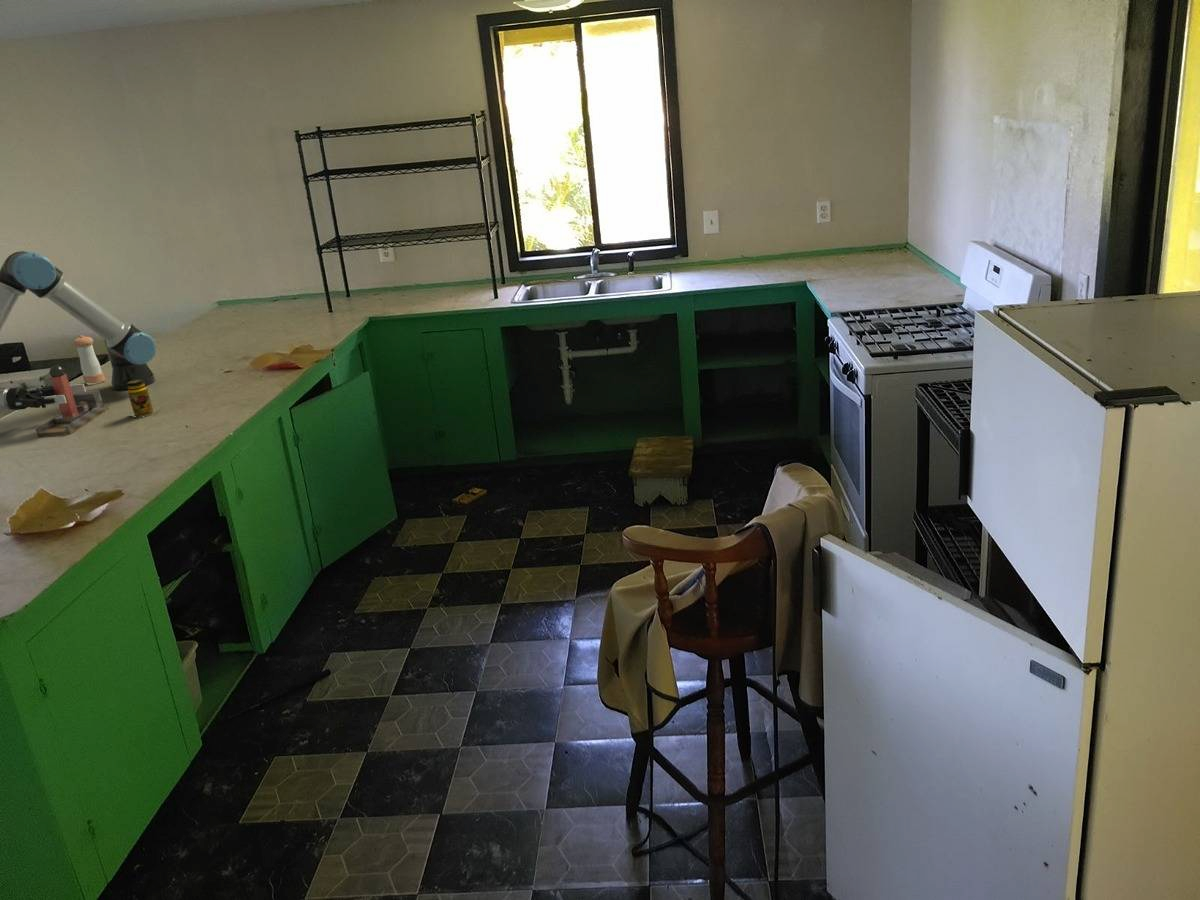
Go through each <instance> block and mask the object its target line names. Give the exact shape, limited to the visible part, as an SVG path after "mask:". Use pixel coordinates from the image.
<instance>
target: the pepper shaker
mask: <svg viewBox="0 0 1200 900" xmlns="http://www.w3.org/2000/svg"><path fill="white" fill-rule="evenodd" d="M72 343H73V347H75V348H76V349H77V353H78V357H79V362H80V364H79V365H80V369H81V372H82V374H83V375H82V379H83V381H84V384H85V383H97V382H101V381H104V380H105V381H106V378H105V374H104V371H102V368H101V364H100V361H99V359H98V357H97V356H96V354H95V350H94V347H93V344H94V339H93V338H92V337H90V336H84V335H83V334H81V335H79V336H78V337H76V339H74V340H73V342H72Z"/></svg>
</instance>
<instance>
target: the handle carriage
mask: <svg viewBox="0 0 1200 900" xmlns="http://www.w3.org/2000/svg"><path fill="white" fill-rule="evenodd" d="M49 375H50V381H51V385H52V386H53V388H54V391H55V394H56V395H55V396H58V395H65V398H66V401H67V403H64V404H58V406H59V410H60V414H61V413H62V415H61V416H59V417H57V418H56V419H55V421H56V423H67V422H73V421H75V420H76V419H78V418H79V417H81V416H83V415H84V414H86V413H87V412H89V409H88V406H87V404H83V405H76V404H75V401H74V398H73V393H72V391H71V388H70V385H71V384H70V382H69V379H68V375H67V373H65V368H63V367H62V366H60V365H53V366H51V367H50V368H49Z"/></svg>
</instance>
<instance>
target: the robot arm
mask: <svg viewBox="0 0 1200 900" xmlns="http://www.w3.org/2000/svg"><path fill="white" fill-rule="evenodd" d="M27 290H28V291H29V292H31V293H32V294H33V295H35V296H36V297H38V298H39V299H48V300H50V301H51V302H52V303H54V304H55V305H56V306H58V307H59V308H60V309H62V310H64V311H65V312H66V313H68V314H69V315H71V316H72V317H73V318H74V319H76V320H77V321H78V322H80V323H81V324H82V325H85V326H86V328H88V329H89V330H91V331H92V332H94V333H95V334H97V335H98V336H99V337H100V338H102V339H103V340H104V344H105V348H106V351H107V354H108V358H109V361H110V364H111V369H112V372H111V386H112V389H113V390H115V389H117V391H125V390H126V389H127V390H129V389H128V385H127V383H128V382H130V381H132V380H137V379H142V380H143V381H144V384H145V387H146V386H148V385H150V384H151V385H152V383H154V382H156V378H155V375H154V373H153V371H152V370H151V368H150V367H149V366H148V363H149V362H151V361H152V360H153V359H154V358H155V356H156V353H157V343H156V341H155V339H154V338H153V337H152V336H151V335H150V334H147V333H145V332H143V331H142V330H140V329H139V328H137V327H136V324H135V323H131V322H130V321H129V322H128V321H124V322H123V321H122V320H120V319H118V318H117V317H116V316H114V315H113V314H112V313H110V312H109V311H108V310H107V309H105V308H103V307H102V306H101V305H100V304H98V303H97V302H96V301H94V300H93V299H91V298H90V296H87V295H86V294H85V293H83V292H82V291H81V290H79V289H78V288H77V287H76V286H75V285H73V284H72V283H70V282H69V281H68V280H66V279H65V274H64V272H63V271H62V270H60V269H59V268H58V267H57V266H55V265H54V263H53V262H52V261H51V260H50V259H49V258H48V257H46V256H45V255H42V254H41V253H38V252H30V251H23V250H22V251H21V250H20V251H16V252H13V253H11V254H10V255H8V256H7V257H6V259H5V260H4V262H3V263H2V266H1V268H0V331H2V329H3V327H4V325H5V323H6V321H7V320H8V317H9V316H10V314H11V312H12V310H13V308H14V307H15V305H16V303H17V301H18V299H19V298H20V297H21V296H25V293H26V292H27ZM69 385H70V388H71V391H72V394H75V393H79V392H86V391H87V390H86V385H85V383H77V384H76V383H75V384H69ZM64 403H67V401H66V398H65V395H58V396H56V394H55V391H54V388H53V385H52V386H46V387H38V388H35V389H32V390H31V389H30V390H29V391H28V390H27V389H26V388H25V387H20V386H19V387H8V388H7V387H6V388H5V387H4V388H0V412H4V411H5V412H6V413H9V412H10V411H22V410H26V409H28V408H32V409H33V408H34V409H35V408H36V409H40V408H42V409H46V408H47V406H53V405H59V404H64Z"/></svg>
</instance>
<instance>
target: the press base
mask: <svg viewBox="0 0 1200 900" xmlns="http://www.w3.org/2000/svg"><path fill="white" fill-rule="evenodd" d="M72 395H73V398H74V401H75V404H76V405H83V404H87V406H88V409H89V412H87V413H86V414H84V415H83V416H81V417H79V418H78V419H76V420H75V421H73V422H67V423H56V421H55V419H56V418H57V417H59V416H61V415H62V413H61V412H60V414H58V415H57V416H55V417H53V418H51V419H50V420H49V421H46V422H45V423H44V424H42V425H40V426H38V427H37V428H35V434H36V435H37V438H43V437H44V438H45V436H47V437H57V436H56V435H58V436H64V435H63V434H69V435H72V434H73V433H75V432H76V431H75V430H77V429H78V430H80V429H81V428H83V427H84V426H85V424H86V423H87V424H89V423H90V422H92V421H93V420H95V419H96V418H98V417H99V416H101V415H102V414H104V413H105V412H107V411H108V410H110V409H109V406H108V405H105V406H104V403H103V399H102V396H101V395H102V394H101V392H100V390H98V389H97V390H86V392H79V393H72ZM106 410H107V411H106ZM103 412H104V413H103ZM101 413H102V414H101ZM100 414H101V415H100ZM98 415H99V416H98ZM97 416H98V417H97ZM95 417H96V418H95ZM94 418H95V419H94ZM92 419H93V420H92ZM91 420H92V421H91ZM89 421H90V422H89ZM88 422H89V423H88ZM87 424H86V425H87ZM83 425H84V426H83ZM82 426H83V427H82ZM80 427H81V428H80ZM79 428H80V429H79ZM78 430H77V431H78ZM74 431H75V432H74ZM72 432H73V433H72ZM71 433H72V434H71Z"/></svg>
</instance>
